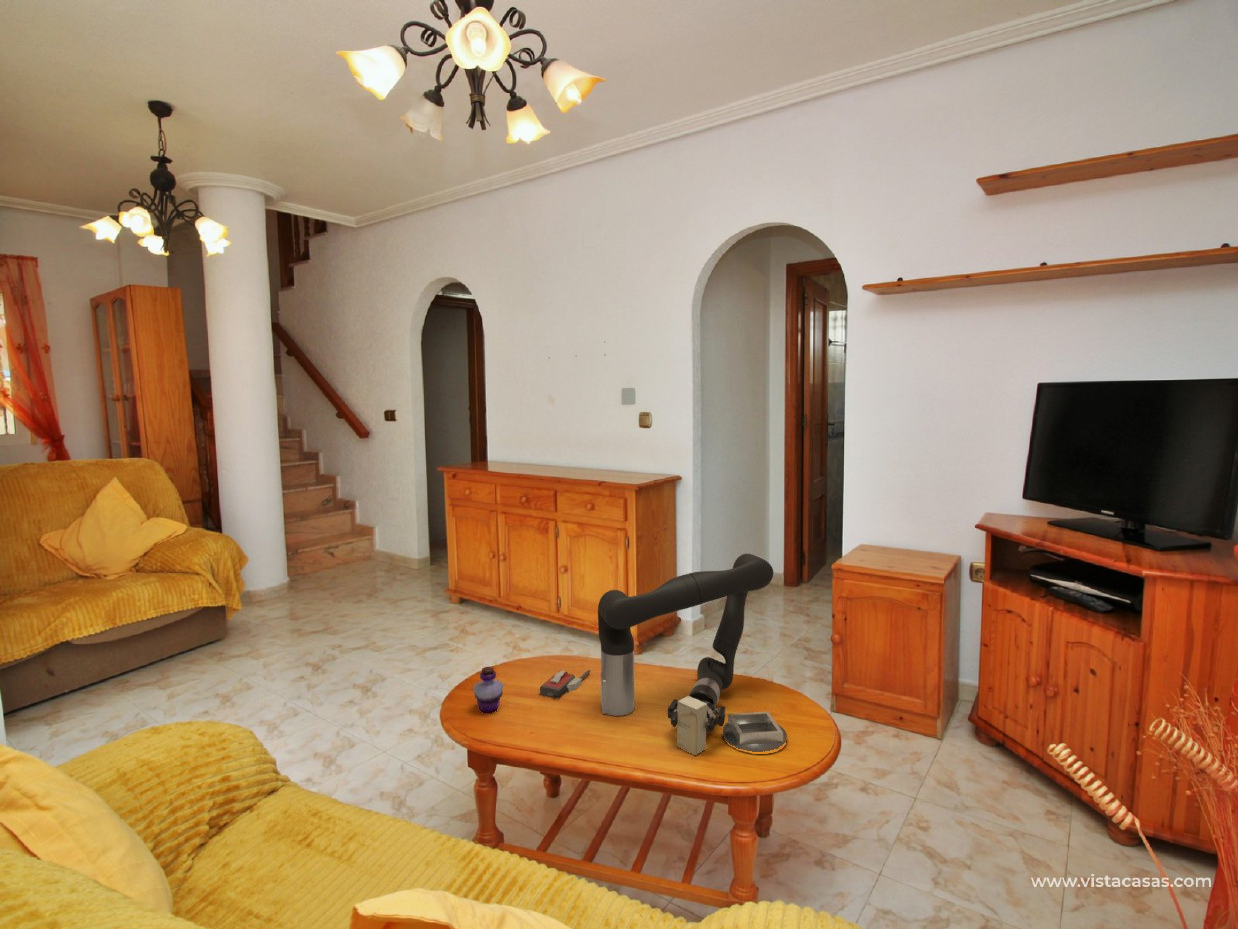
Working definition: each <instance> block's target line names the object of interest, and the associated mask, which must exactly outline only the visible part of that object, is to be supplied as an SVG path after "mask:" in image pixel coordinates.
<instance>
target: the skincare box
mask: <svg viewBox="0 0 1238 929" xmlns="http://www.w3.org/2000/svg"><path fill="white" fill-rule="evenodd" d="M706 721H707V703H704V702H702V701H700V700H697V699H695V698H693V697H690V696H689V695H687V696H685V697H683V698H680V699H678V719H677V725H676V727H677V728H676V730H677V731H676V747H677V746H678V747H679V749H680V748H681V749H680V750H682V749H683V750H682V751H684V750H685V751H684V752H686V751H687V753H688V752H689V753H688V754H690V753H692V754H693V755H692V754H691V755H692V756H694V755H696V756H697V754H698V753H700V752H701V753H703V752H704V751H703V750H704V749H706V747H707V746H706V745H707V743H706V742H707V732H706V726H707V723H706ZM678 747H677V748H678ZM702 751H703V752H702ZM701 753H700V754H701ZM698 755H699V754H698Z"/></svg>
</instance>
